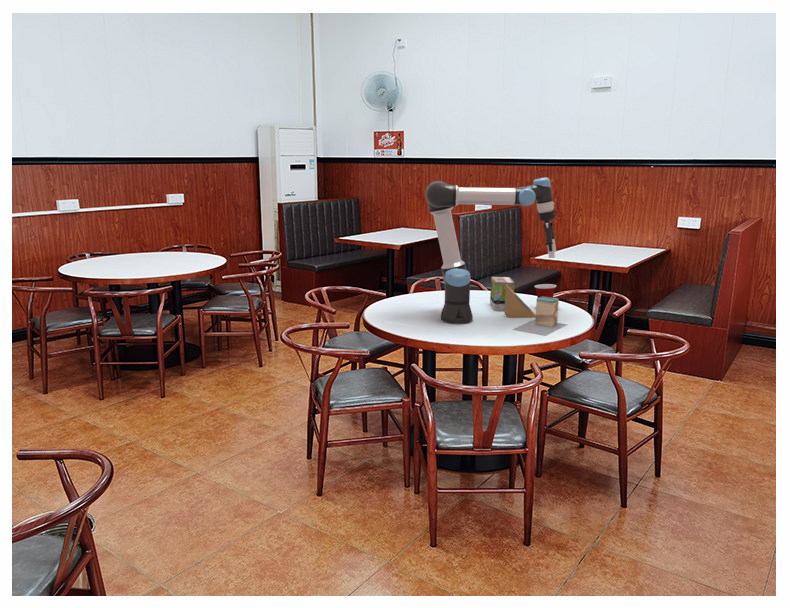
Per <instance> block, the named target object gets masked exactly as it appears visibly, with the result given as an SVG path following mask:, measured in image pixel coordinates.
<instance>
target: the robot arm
mask: <svg viewBox="0 0 790 608" xmlns="http://www.w3.org/2000/svg"><path fill="white" fill-rule="evenodd" d="M424 193H425V199H426V203H427V207H428V212H429V213H430V214H431V215H432V216H433V220H434V221H433V222H434V224H435V228H436V229H435V230H436V233H437V234H436V235H437V239H438V244H439V248H440V253H441V257H442V263H443V264H442V266H441V267H440V269H441V271H442V272H441V273H442V278H443V283H444V304H443V308H442V310H441V313H440V321H441V322H443V323H447V324H452V325H453V324H454V325H455V324H457V325H460V324H462V325H463V324H469V323H471V322H473V319H474V318H473V317H474V316H473V312H472V309H471V305H470V298H471V297H470V295H471V293H470V292H471V273H470V271H468V270H467V266H466V262H465V261H463V260H462V257H461V252H460V248H459V244H458V238H457V234H456V229H455V225H454V220H453V216H452V215H453V214H452V210H453V209H454V207H457V206H458V205H489V206H490V205H491V206H492V205H494V206H495V205H497V206H498V205H499V206H500V205H501V206H502V205H503V206H506V205H507V206H512V205H513V206H524V207H527V206H529V207H530V206H531V205H533V204H534V203H535V201H536V209H537V212H538V213H537V214H538V221H540V222H542V221H544V224H543V228H544V234H545V240H546V241H545V243H544V244H545V246H547V255H548V259H553V258H554V259H555V258H556V255H555V253H557V247H556V241H555V239H556V238H557V237H556V235H555V234H554V232H555V231H554V224H553V222H552V221H553V220H554V219H556V213H555V206H554V205H555V204H556V203H555V202H554V200H553V199H554V198H553V191H552V185H551V180H550V178H549V177H540V178H535V179H534V180H533V184H530V185H525V186H524V185H523V186H520V187H473V186H472V187H469V186H467V187H466V186H464V187H462V186H458V185H457V184H448V183H446V182H445V181H442V180H436V181H435V180H434V181H432V182H431V183H429V184H428V185H427V186H426V189H425V192H424Z"/></svg>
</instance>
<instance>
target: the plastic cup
mask: <svg viewBox="0 0 790 608" xmlns="http://www.w3.org/2000/svg"><path fill="white" fill-rule="evenodd" d="M534 288H535V291H536V297H537V298H540V297H542V296H543V297H550V298H554V295H555V290H556V289H557V285H556V284H553V283H552V284H551V283H542V284H536V285H534ZM537 298H536V299H537Z"/></svg>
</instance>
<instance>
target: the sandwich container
mask: <svg viewBox="0 0 790 608" xmlns="http://www.w3.org/2000/svg"><path fill="white" fill-rule="evenodd" d="M504 313H505V314H504ZM504 313H503V314H504V316H505V315H506V316H505V317H507V318H529V319H530V318H534V319H536V312H534V311H533V309H531V308H530V307H529V306H528V305H527V304H526V303H525V302H524V301H523V300H522V299H521V297H519V295H518V294H516V292H515V290H514V291H513V290H512V289H511V288H509V287H508V286H507V285H506V289H505V311H504Z"/></svg>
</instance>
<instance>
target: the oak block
mask: <svg viewBox="0 0 790 608" xmlns="http://www.w3.org/2000/svg"><path fill="white" fill-rule="evenodd" d="M559 300H560V298H556V297H553V298H550V297H543V296H542V297H540V298H536V303H535V304H536V306H535V314H536V318H534V320H535V324H537V325H543V326H548V327H553V326H555V325H557V323H558V320H559V319H558V318H559V315H558V314H559V304H560V303H559Z"/></svg>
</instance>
